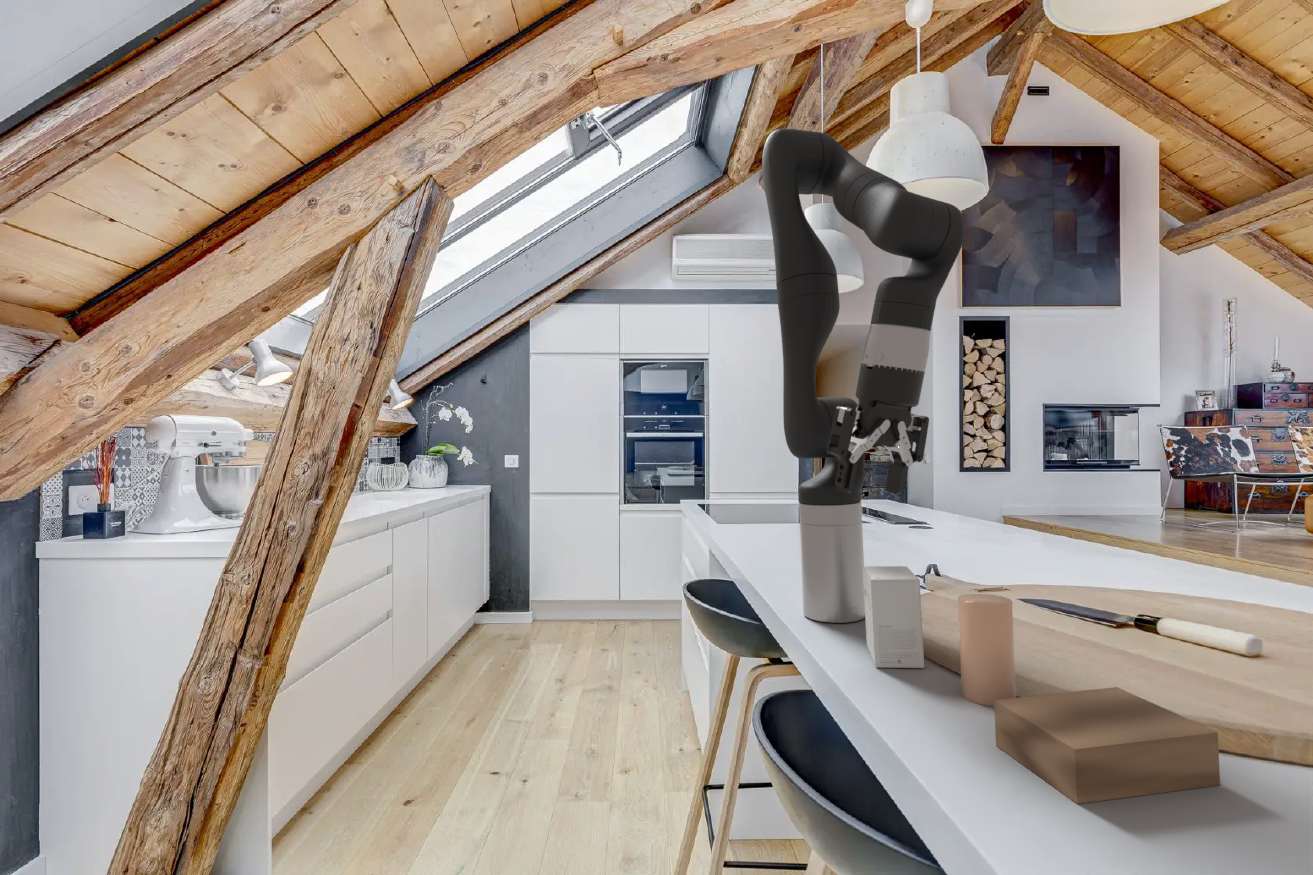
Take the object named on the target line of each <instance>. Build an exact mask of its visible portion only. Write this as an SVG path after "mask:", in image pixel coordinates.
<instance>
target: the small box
mask: <svg viewBox="0 0 1313 875" xmlns="http://www.w3.org/2000/svg"><path fill="white" fill-rule="evenodd" d="M920 581H921V580H920V578H918V577H917V576H916V575H915V574H914V573H913V572H912V570H910V568H909V567H908V566H904V565H903V566H901V565H900V566H899V565H898V566H897V565H896V566H895V565H893V566H887V565H886V566H885V565H884V566H881V565H880V566H878V565H877V566H876V565H875V566H874V565H873V566H864V567H863V583H864V601H865V618H864V619H865V635H866V636H865V638H866V648H867V649H868V651H869V654H870V657H871V659H872V661H873V664H874V666H875V668H876V669H877V668H878V669H879V668H884V669H885V668H890V669H891V668H893V669H894V668H895V669H896V668H897V669H898V668H899V669H901V668H902V669H903V668H904V669H925V659H924V658H925V656H924V654H925V653H924V635H923V634H924V633H923V632H924V631H923V620H922V619H923V618H922V602H921V601H922V600H921V582H920Z"/></svg>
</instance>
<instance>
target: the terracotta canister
mask: <svg viewBox="0 0 1313 875" xmlns="http://www.w3.org/2000/svg"><path fill="white" fill-rule="evenodd" d="M957 610H958V612H957V613H958V632H959V653H960V654H959V658H960V679H961V681H960V682H961V695H962V697H963V698H964V699H966V700H968V701H970V702H972V703H974V704H978V705H981V706H982V705H983V706H986V707H994V700H999V699H1009V698H1017V683H1016V682H1017V680H1016V663H1015V661H1016V660H1015V657H1016V656H1015V640H1014V638H1015V637H1014V636H1015V635H1014V632H1015V631H1014V616H1013V615H1014V614H1013V613H1014V612H1013V600H1012V599H1010V598H1008V597H1005V596H1001V595H996V594H991V593H989V594H988V593H968V594H967V593H966V594H962V595H959V596H958V597H957Z"/></svg>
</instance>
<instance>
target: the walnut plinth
mask: <svg viewBox="0 0 1313 875" xmlns="http://www.w3.org/2000/svg"><path fill="white" fill-rule="evenodd" d="M993 708H994V728H995V730H994V731H995V746H996V748H999V749H1000V750H1001V751H1002V752H1004V753H1005V754H1007V755H1008V756H1010V757H1011V758H1013V760H1015V761H1016V762H1018V764H1021V765H1022V766H1023V767H1024V768H1026V769H1028V770H1029V771H1030V772H1032V773H1033V774H1035V775H1036V776H1037V777H1039V778H1040V779H1042V780H1043V781H1044V782H1046V783H1047V784H1049V785H1050V786H1051V787H1053V788H1054V789H1055V790H1057V791H1058V792H1060V793H1061V794H1063V795H1064V796H1066V797H1067V798H1069V799H1070V800H1071V801H1073V803H1076V805H1079V804H1086V803H1093V802H1103V801H1108V800H1109V801H1110V800H1117V799H1123V798H1124V799H1125V798H1132V797H1140V796H1147V795H1154V794H1162V793H1164V794H1165V793H1170V792H1178V791H1186V790H1193V789H1199V788H1202V789H1203V788H1207V787H1216V786H1221V774H1220V773H1221V772H1220V755H1219V754H1220V752H1219V751H1220V750H1219V731H1215V730H1213V729H1211V728H1209V727H1207V726H1205V725H1203V724H1201V723H1197V722H1196V721H1193V720H1192V719H1189V718H1187V717H1185V716H1182V715H1180V714H1179V713H1176V712H1174V711H1171V710H1170V709H1168V708H1167V709H1166V707H1165V708H1164V707H1163V706H1160V705H1158V704H1156V703H1154V702H1152V701H1149V700H1147V699H1144V698H1142V697H1140V696H1138V695H1136V694H1133V693H1131V692H1129V691H1127V690H1125V689H1122V688H1120V687H1118V686H1115V687H1113V686H1112V687H1106V688H1095V689H1087V690H1085V689H1084V690H1076V691H1075V690H1074V691H1069V692H1068V691H1067V692H1066V691H1065V692H1057V693H1048V694H1041V695H1039V694H1038V695H1028V696H1020V697H1016V698H1009V699H999V700H994V706H993Z"/></svg>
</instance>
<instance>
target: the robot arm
mask: <svg viewBox="0 0 1313 875" xmlns="http://www.w3.org/2000/svg"><path fill="white" fill-rule="evenodd" d="M761 171H762V172H761V173H762V174H761V175H762V179H763V182H762V183H763V188H764V193H765V198H766V200H765V201H766V204H767V209H768V215H769V221H770V228H771V234H772V235H771V236H772V243H773V252H774V263H775V281H776V285H775V286H776V287H775V288H776V295H777V297H776V298H777V305H778V306H777V307H778V317H779V323H780V335H781V346H782V349H781V350H782V358H783V360H782V365H783V371H782V373H783V378H782V379H783V384H782V385H783V386H782V387H783V389H782V390H783V391H782V392H783V393H782V394H783V402H782V403H783V408H782V409H783V430H784V437H785V442H786V445H787V447H788V450H789V451H790V453H791V454H792V456H794V457H795V458H797V459H803V460H806V459H824V460H825V461H824V465H823V468H822V469H821V470H820V472H818V473H817V474H816V475H815V476H813V477H811V478H809V479H807V480H805V481H804V482H802V483H801V484H799V487H798V491H797V494H798V512H799V514H798V515H799V516H798V517H799V533H800V534H799V536H800V537H799V538H800V558H801V559H800V560H801V580H802V606H803V615H804V616H805V617H806V618H808V619H810V620H814V621H818V622H822V623H823V622H824V623H834V624H835V623H840V624H841V623H843V624H844V623H854V622H858V621H860V620H861V621H862V620H863V619H865V601H864V583H863V567H865V556H864V535H863V534H864V532H863V518H862V517H863V516H862V515H863V513H862V490H863V486H864V483H865V482H864V481H865V452H868V451H870V449H872V447H882V446H883V448H884V449H885V450H887V451H888V454H889V458H890V460H891V462H890V463H889V466H888V472H887V478H886V482H885V491H887V492H888V493H891V494H894V495H901V494H903V490H904V488H905V485H906V481H907V476H908V471H909V467H911V466H912V464H914V463H916V462H917V463H921V462H922V461H923V460H924V456H925V448H926V443H927V436H928V431H929V424H930V418H929V417H928V416H926V415H920V414H915V413H912V409H913V408H915V407H917V406H918V405H919V403H920V398H921V394H922V390H923V389H922V388H923V383H924V378H925V373H926V367H927V363H928V358H929V353H930V352H929V351H930V338H931V331H932V325H933V321H934V316H935V311H936V305H937V299H938V298H939V295H940V293H941V291H942V288H943V287H944V285H945V283H946V281H947V279H948V276H949V275H950V272H951V270H952V268H953V266H954V264H955V262H956V260H957V258H958V256H959V254H960V252H961V249H962V247H963V245H964V244H963V242H964V240H965V234H966V227H965V226H966V224H965V220H964V215H963V214H962V212H961V210H960V209H959V208H958V207H957V206H955V205H953V204H952V203H949V202H945V201H941V200H937V199H934V198H932V197H928V196H924V195H920V194H918V193H915V192H911V191H908V189H907V188H906V187H905V186H904V185H903V184H901V183H900V182H899V181H897V180H895V179H894V178H892V177H889V176H887V175H886V174H883V173H881V172H879V171H877V170H875V169H872V168H871V167H868V166H866V165H864V164H863V163H862V162H860V161H859V160H858V159H857V158H855V157H854V156H853V155H852V154H851V153H850V152H849V151H847V149H846V148H844V146H843V145H841V144H840V143H839V142H838V141H837V140H836V139H835V138H834V137H832V136H831V135H829V134H827V133H824V132H820V131H813V130H804V129H797V128H796V129H795V128H778V129H775V130H773V131H772V132H770V134H769V135H768V137H767V139H766V141H765V143H764V146H763V152H762V160H761ZM800 195H806V196H807V195H823V196H827V197H832V202H833V205H834V208H835V209H836V210H837V212H838V214H839V215H840V216H841V217H842V218H844V219H845V220H847V221H848V222H849V223H850V224H852V225H854V226H855V227H857V228H859V229H860V230H861V231H863V232H864V234H865V236H867V239H869V240H870V242H871V244H873V245H874V246H875V247H876V248H878V249H880V250H881V251H884V252H887V253H889V254H891V255H895V256H898V257H902V258H903V257H904V258H907V259H911V263H910V264H909V267H908V269H907V271H906V272H905V274H904V275H903V276H902V275H901V276H891V277H887V278H884V279H883V280H882V281H881V282H880V283H879V284H878V286H877V289H876V294H875V298H874V303H873V309H872V314H871V318H870V319H871V320H870V325H869V329H868V332H867V336H866V338H865V342H864V346H863V352H862V356H861V358H862V359H861V363H860V368H859V374H858V378H857V384H856V390H855V397H856V398H857V399H858V403H857V402H856V400H854V399H852V398H850V397H846V396H845V397H844V396H831V397H830V396H829V397H828V396H827V397H821V396H820V397H818V396H817V385H816V381H817V380H816V377H817V376H816V375H817V368H818V362H819V359H820V356H821V353H822V351H823V349H824V347H825V346H826V343H827V341H828V339H829V337H830V335H831V333H832V331H833V329H834V327H835V324H836V322H837V320H838V318H839V313H840V307H841V306H840V303H841V302H840V293H839V284H838V283H839V281H838V273H837V267H836V265H835V263H834V261H833V258H832V256H831V255H830V252H829V251H828V250H827V248H826V246H825V245H824V243H823V242H822V241H821V239H820V238H819V235H818V234H816V232H815V231H814V229H813V228H812V226H811V224H810V223H809V221H808V220H807V218H806V215H805V212H804V210H803V206H802V202H801V198H800ZM914 444H915V448H914V447H913V446H914ZM913 448H914V450H913Z"/></svg>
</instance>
